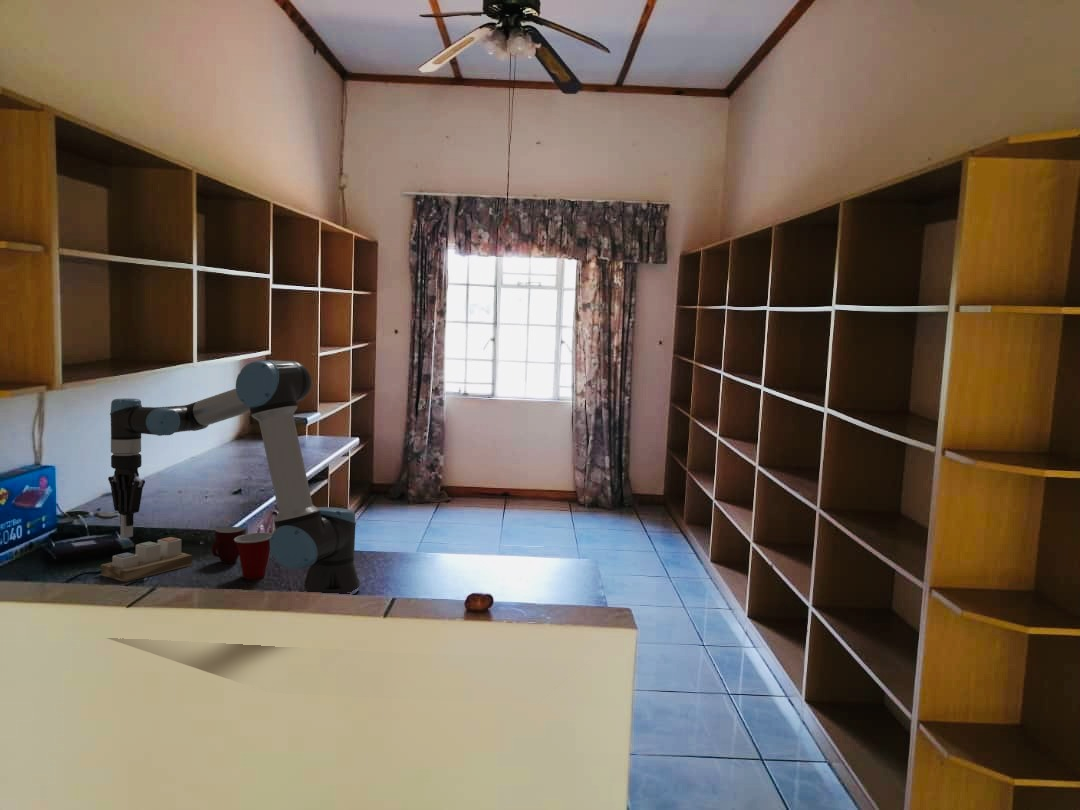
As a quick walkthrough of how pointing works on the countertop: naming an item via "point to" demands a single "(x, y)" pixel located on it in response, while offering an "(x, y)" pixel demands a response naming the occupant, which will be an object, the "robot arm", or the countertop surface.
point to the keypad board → (146, 568)
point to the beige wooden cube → (148, 552)
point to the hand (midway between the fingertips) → (126, 536)
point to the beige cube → (170, 547)
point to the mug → (226, 544)
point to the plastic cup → (253, 553)
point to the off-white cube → (125, 560)
